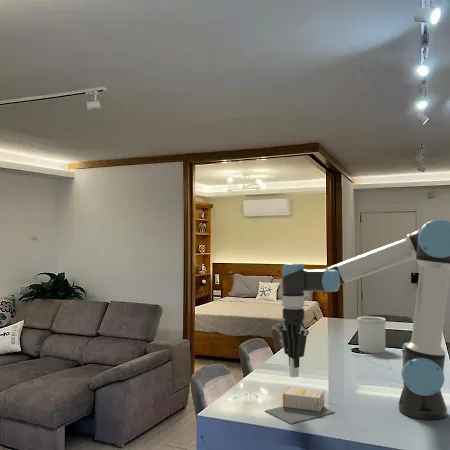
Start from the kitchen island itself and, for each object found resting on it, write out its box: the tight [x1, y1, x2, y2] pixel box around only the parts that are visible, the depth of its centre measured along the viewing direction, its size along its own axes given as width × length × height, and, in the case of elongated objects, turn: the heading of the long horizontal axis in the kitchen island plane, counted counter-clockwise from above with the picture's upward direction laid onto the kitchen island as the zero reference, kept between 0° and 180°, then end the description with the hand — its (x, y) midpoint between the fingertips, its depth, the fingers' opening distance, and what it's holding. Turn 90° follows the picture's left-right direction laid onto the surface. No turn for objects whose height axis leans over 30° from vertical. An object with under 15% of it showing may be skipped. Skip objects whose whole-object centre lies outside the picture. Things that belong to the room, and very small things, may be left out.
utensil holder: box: [356, 315, 386, 354], centre depth 252 cm, size 15×15×18 cm
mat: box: [264, 405, 335, 425], centre depth 157 cm, size 14×19×1 cm
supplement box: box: [282, 387, 325, 411], centre depth 162 cm, size 8×5×13 cm
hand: (294, 376), depth 159 cm, fingers closed
